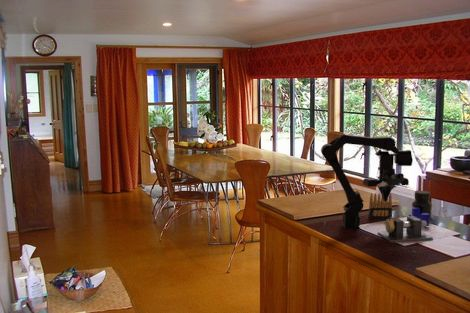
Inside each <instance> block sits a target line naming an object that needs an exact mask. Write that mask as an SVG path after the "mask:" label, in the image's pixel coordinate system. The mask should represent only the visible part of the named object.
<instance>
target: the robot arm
mask: <svg viewBox="0 0 470 313" xmlns="http://www.w3.org/2000/svg"><path fill="white" fill-rule="evenodd" d="M346 144H347V145H356V146H364V147H373V148H377V149H378V150H377V151H376V152H375V155H376V156H379V167H377V170H379V171H378V172H379V174H378V175H379V176H377V179H376V178H373V177H367V178H364V179H363V180H362V181H363V182H362V185H363V186H366V187H368V188H370V187H371V188H372V187H374V188H375V187H377V189H378V190H379V193H380V196H381V198H383V200H384V202H385V201H387V199H388V200H389V195H390V193H391V192H392V190H393V189H395V188H397V187H398V186H399V185H401V186H409V185H410V181H409V179H408V178H407V177H405V175H404V173H396V169H395V168H394V165H395V164H396V166H397V167H398V166H399V167H411V166H412V165H413V160H414V159H413V155H412V150H411V149H406V150H405V149H404V150H399V148H397V145H396V142H395V139H394V138H392V137H391V136H387V135H383V136H374V137H373V136H372V137H371V136H361V135H353V134H345V133H342V134H340V135H338V137H336V138H334V139H333V140H332V141H330V142H329V143H325V144H323V145H322V147H321V149H320V153H321V155H322V156H323V157H324V159H325V160H326V161H327V163H328V164H329V165H330V166H331V169H332V170H333V171H334V174H335V176H336V178H337V180H338V182H339V184H340V186H341V187H342V189H343V191H344V193H345V198H346V201H347V203H345V205H344V206H343V211H344V212H342V223H341V224H340V225H341V227H343V228H344V229H345V230H353V229H354V230H358V229H361V225H360V223H361V217H360V214H359V213H360V212H361V211H362V210H363V208H364V199H363V198H362V196H361V194H360V192H359V190H356V191H355V190H354V188H353V187H352V185H351V183H350V182H349V179H348V177H347V175H346V174H345V172H344V169H343V168H342V165H341V164H340V162H339V158H338V155H337V152H338V151H340V149H341V148H342V147H344V146H345V145H346ZM382 150H383V151H382ZM390 152H392V153H390Z"/></svg>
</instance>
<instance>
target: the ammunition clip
mask: <svg viewBox="0 0 470 313" xmlns="http://www.w3.org/2000/svg"><path fill="white" fill-rule="evenodd" d="M392 199H393V198H392V193H391V192H390V194H389V197H388V199H387V201H384V200H383V198H382V197H381V193H380V192H379V193H378V195H377V193H376V192H375V193H374V195H373V193H372V192H371V193H370V195H369V206H368V216H367V218H368V219H372V220H373V219H381V220H382V219H386V220H387V219H389V218H392V217H393V202H392Z"/></svg>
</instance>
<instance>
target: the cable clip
mask: <svg viewBox="0 0 470 313" xmlns="http://www.w3.org/2000/svg"><path fill="white" fill-rule="evenodd" d="M410 216H414V217H416V218H418V219H420V220H422V221H426V222H427V226H429V227H430V225H429V224H430V218H429V214H428V213H427V214H420V208H412V207H411V213H408V217H410Z"/></svg>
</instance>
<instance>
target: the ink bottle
mask: <svg viewBox="0 0 470 313" xmlns="http://www.w3.org/2000/svg"><path fill="white" fill-rule="evenodd" d="M412 208H420V214H427V213H428V214H429V219H431V217H432V208H433V204H432V202H431V192H430V191H427V190H416V191H414V200H413V201H412V202H411V209H412Z"/></svg>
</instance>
